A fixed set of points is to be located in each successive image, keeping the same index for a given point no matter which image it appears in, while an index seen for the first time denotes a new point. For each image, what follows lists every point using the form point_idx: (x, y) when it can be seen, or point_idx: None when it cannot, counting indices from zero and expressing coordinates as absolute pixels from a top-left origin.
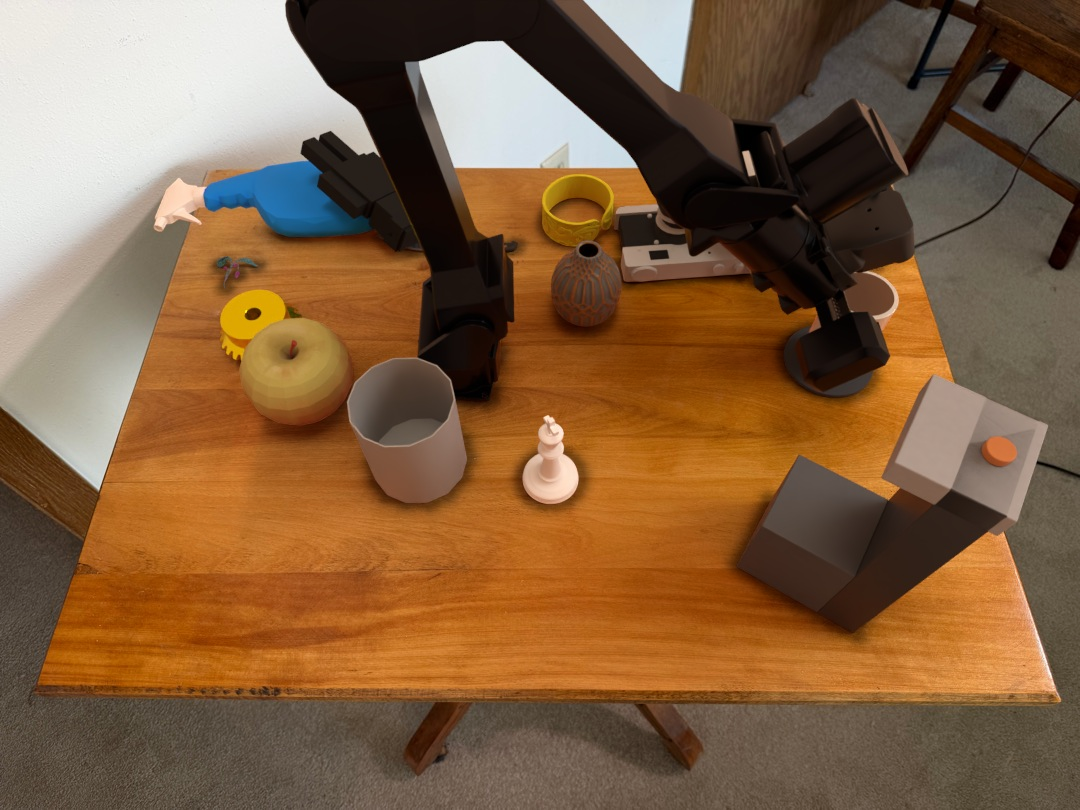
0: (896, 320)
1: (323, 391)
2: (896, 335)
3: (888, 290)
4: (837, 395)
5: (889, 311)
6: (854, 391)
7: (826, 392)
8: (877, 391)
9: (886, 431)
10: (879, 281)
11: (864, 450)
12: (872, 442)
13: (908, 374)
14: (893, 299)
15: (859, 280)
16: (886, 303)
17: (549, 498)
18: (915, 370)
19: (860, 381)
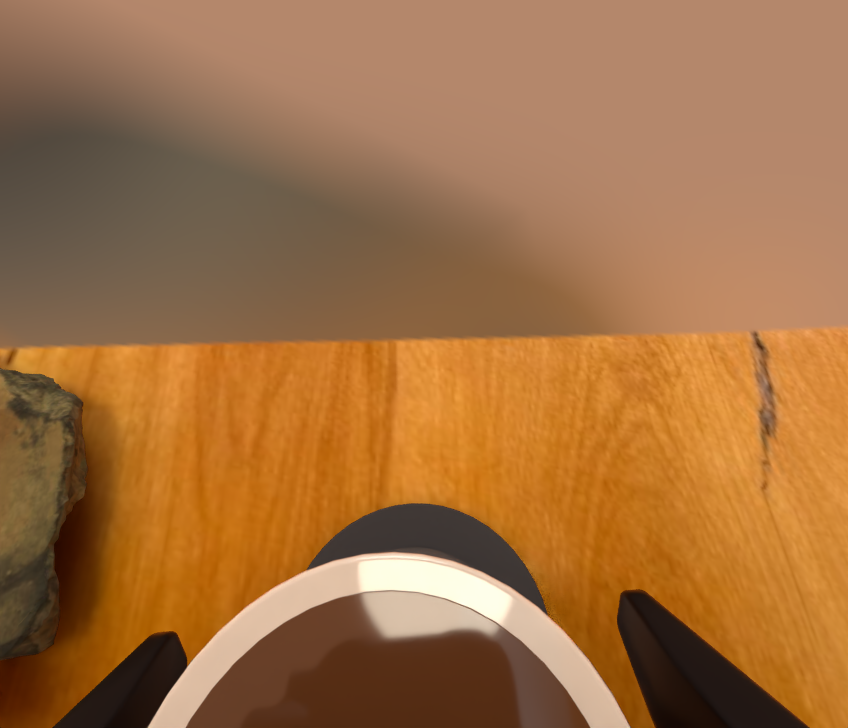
0: (278, 407)
1: None
2: (326, 417)
3: (350, 624)
4: None
5: (559, 665)
6: (529, 580)
7: None
8: (509, 504)
9: (634, 505)
10: (256, 689)
11: (712, 581)
12: (679, 552)
13: (448, 413)
14: (442, 606)
15: None
16: (485, 677)
17: None
18: (434, 394)
19: (493, 555)
